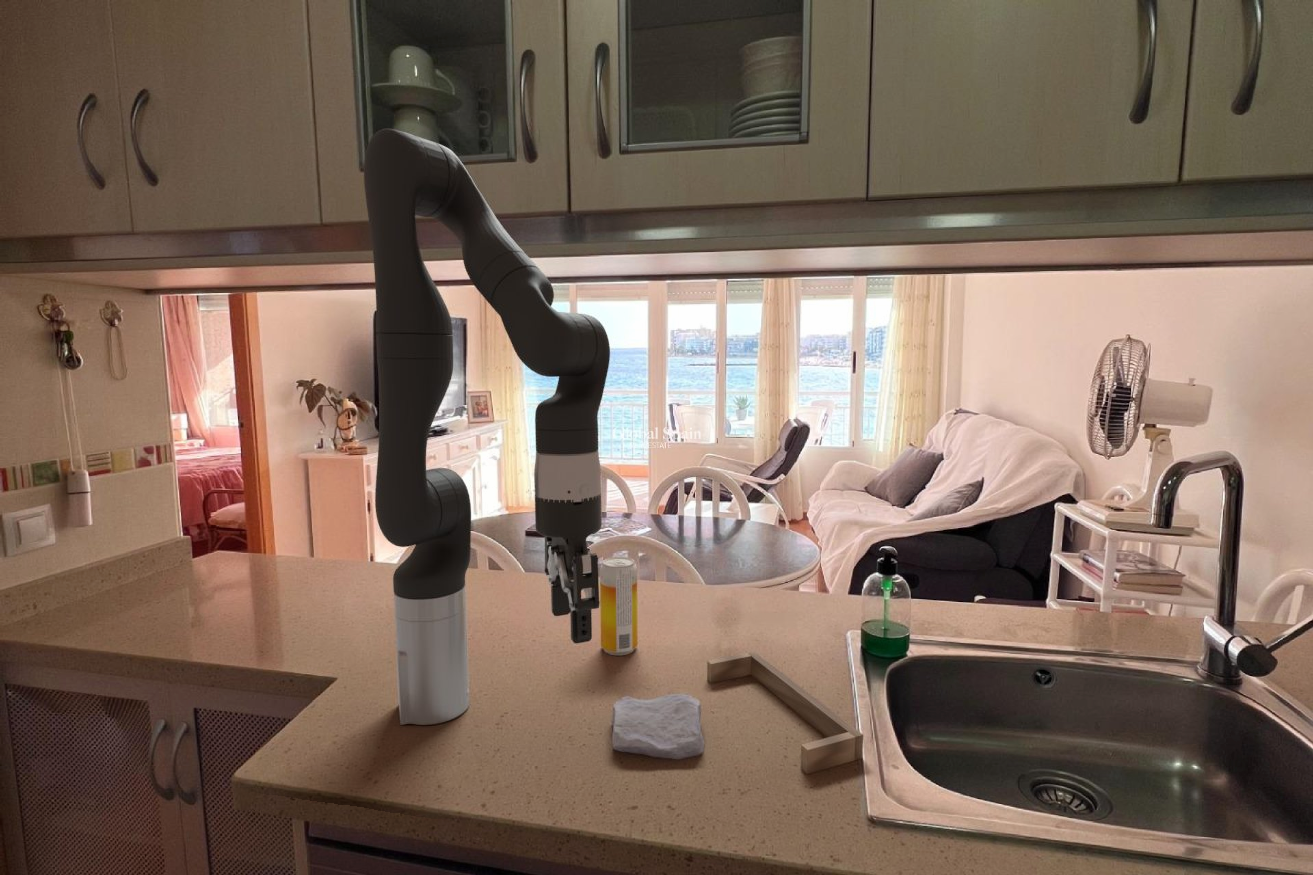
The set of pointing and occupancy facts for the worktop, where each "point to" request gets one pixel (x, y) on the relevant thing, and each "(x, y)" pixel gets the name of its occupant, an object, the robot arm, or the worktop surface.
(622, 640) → the beer can
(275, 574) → the worktop surface
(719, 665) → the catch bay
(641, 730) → the stone block
